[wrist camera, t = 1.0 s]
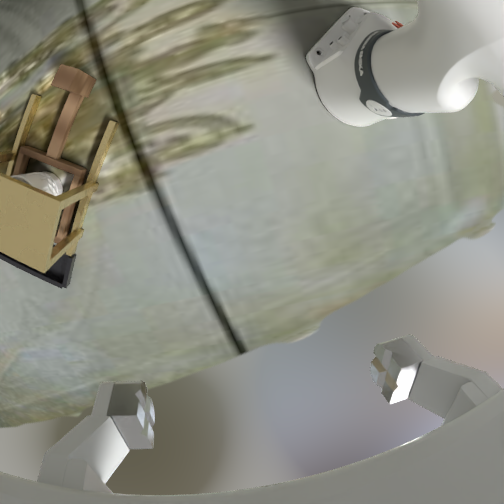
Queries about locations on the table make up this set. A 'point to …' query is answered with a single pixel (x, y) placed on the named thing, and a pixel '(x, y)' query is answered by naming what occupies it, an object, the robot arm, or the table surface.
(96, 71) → the table surface
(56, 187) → the white cup
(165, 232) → the table surface
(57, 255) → the tunnel
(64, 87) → the wooden frame with handle
